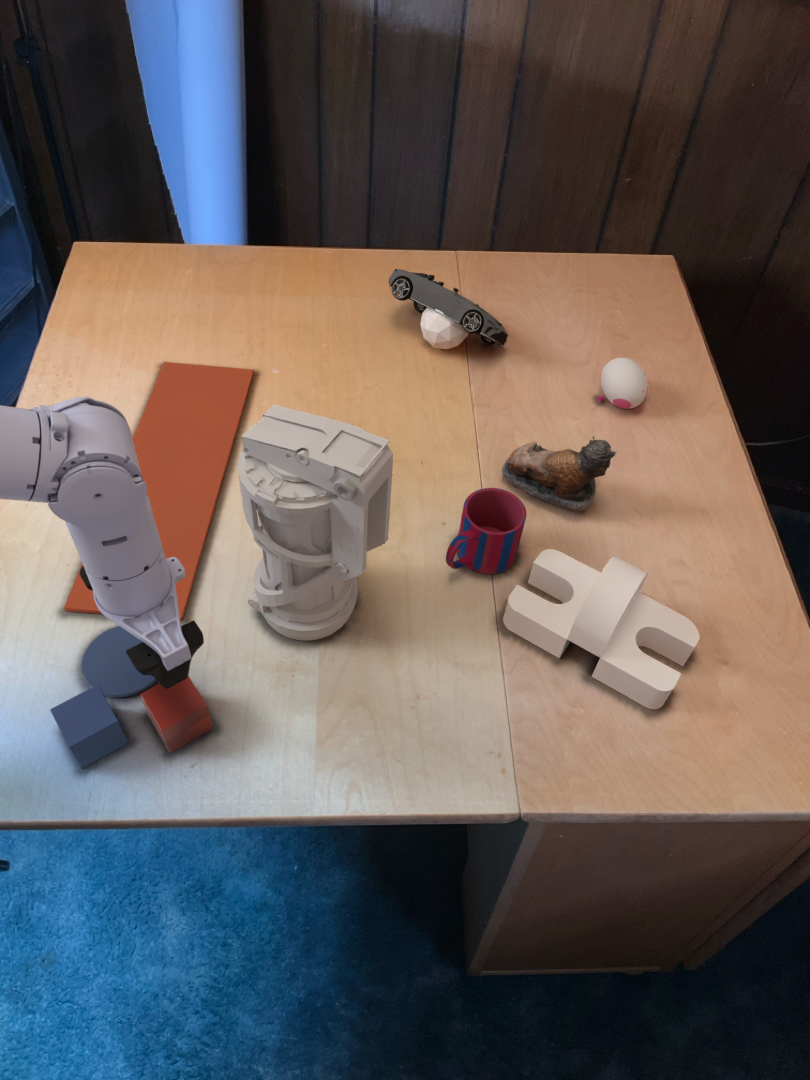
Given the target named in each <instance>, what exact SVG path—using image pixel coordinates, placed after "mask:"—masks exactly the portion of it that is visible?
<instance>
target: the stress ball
mask: <svg viewBox="0 0 810 1080" xmlns="http://www.w3.org/2000/svg"><path fill="white" fill-rule="evenodd" d="M648 383H649V382H648V378H647V376H646V373H645V371H644V369H643V368H642V367H641V366H640V365H639V363H637V362H636V361H635V360H633V359H631V358H628V357H614V358H613V359H611V360H610V361H608V362H607V363H606V364H605V366H604V367H603V369H602V371H601V375H600V386H601V389H602V392H603V394H604V395H602V396H599V397H598V401H599V402H600V403H601V402H602V400H603V399H604V397H605V398H606V399H607V400H608V401H609V402H610V404H612V405H614V406H616V407H617V408H620V409H627V410H628V409H629V410H630V409H634V408H636V407H638V406H639V405H641V404H642V403H643V402H644V400H645V398H647V394H648V388H649V384H648Z"/></svg>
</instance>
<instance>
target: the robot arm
mask: <svg viewBox="0 0 810 1080" xmlns="http://www.w3.org/2000/svg"><path fill="white" fill-rule="evenodd" d="M131 430H132V429H131V427H130V425H129V423H128V420H127V419H126V416H125V415H124V414H123V412H121V411H120V410H119V409H118V408H117V407H116V406H114V405H112V404H110V403H108V402H105V401H102V400H97V399H94V398H92V397H89V396H77V397H72V398H69V399H65V400H62V401H60V402H57V403H56V404H52V405H44V404H39V405H38V407H35V406H33V407H31V408H30V409H29V408H23V407H17V406H8V405H1V404H0V500H9V501H18V502H19V501H20V502H31V503H42V504H43V503H44V504H47V506H48V508H49V510H50V511H51V512H52V513H53V514H54V515H55V516H56V517H57V518H59V519H61V520H62V521H64V522H65V525H66V527H67V529H68V532H69V534H70V537H71V539H72V542H73V544H74V546H75V549H76V551H77V554H78V556H79V558H80V561H81V565H82V564H83V566H82V568H81V569H80V568H79V570H80V576H81V578H82V580H83V582H84V583H85V585H86V587H87V588H88V589H89V590H91V591H93V596H94V600H95V603H96V605H97V607H98V609H99V611H100V612H101V613H102V614H101V615H103V616H104V617H106V619H108V620H110V621H112V622H113V623H114V624H115V625H117V626H120V627H122V628H123V629H125V630H126V631H127V632H129V633H130V634H132V635H133V636H135V637H136V638H138V639H139V640H141V641H142V643H140V644H138V645H136V646H134V647H132V648H130V649H128V650H126V654H127V655H128V657H129V659H130V660H131V662H132V664H133V665H134V667H135V668H136V670H137V671H138V672H140V673H141V674H142V675H151V676H153V677H154V678H155V679H156V680H157V681H156V682H157V683H158V684H160V685H161V686H163V687H164V688H165V689H169V688H170V687H172V686H174V685H176V684H178V683H180V682H181V681H183V680H185V679H187V677H188V676H189V673H190V667H191V662H192V659H193V657H194V655H195V654H196V653H197V651H198V650H199V649H201V647H202V646H203V645H204V643H205V637H204V634H203V631H202V630H201V628H200V627H199V625H198V624H197V622H196V621H195V620H194V619H193V620H191V621H189V622H187V623H185V624H183V625H182V623H181V622H182V621H180V615H179V607H178V600H177V593H176V583H177V582H178V581H179V580H181V579H183V578H184V577H185V575H186V573H185V569H184V567H183V566H182V564H181V563H180V561H179V560H178V559H177V558H176V557H170V558H167V559H166V558H165V554H164V551H163V547H162V543H161V540H160V536H159V532H158V529H157V525H156V522H155V518H154V515H153V511H152V507H151V504H150V500H149V498H148V496H147V484H146V482H143V478H142V474H141V470H140V466H139V462H138V458H137V454H136V450H135V446H134V442H133V433H132V431H131Z"/></svg>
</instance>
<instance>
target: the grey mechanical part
mask: <svg viewBox="0 0 810 1080" xmlns="http://www.w3.org/2000/svg"><path fill="white" fill-rule="evenodd" d="M240 437H241V444H242V445H241V446H242V449H241V452H240V454H239V456H238V460H237V474H238V481H239V488H240V496H241V499H242V500H241V501H242V507H243V513H244V517H245V520H246V522H247V524H248V526H249V528H250V530H251V532H252V534H253V542H255V543H256V544H257V545H258V547H260V548H261V549H262V559H261V560H260V561H259V563H258V564H257V567H256V570H255V573H254V577H253V578H254V579H253V582H254V583H253V584H254V592H253V593H252V595H251V596H250V597H249V598H248V599H247V603H248V605H249V606H250V607H251V608H252V609H253V610H255V611H257V612H259V613H261V614H262V616H263V618H264V620H265V621H266V622H267V623H268V625H269V626H270V627H271V628H272V629H273V630H274V631H275V632H277V633H278V634H280V635H281V636H284V637H286V638H289V639H290V640H291V639H292V640H297V641H307V642H309V641H317V640H320V639H323V638H326V637H330V636H331V635H333V634H334V633H336V632H337V631H339V630H340V629H341V628H342V627H344V625H345V624H347V622H348V621H349V620H350V617H351V615H352V614H353V612H354V609H355V606H356V603H357V598H358V593H359V592H358V591H359V585H358V579H357V577H358V576H360V575H363V574H364V572H365V571H366V570H367V554H368V552H370V551H371V550H372V551H373V550H374V549H376V548H379V547H381V546H383V545H386V543H387V542H388V540H389V529H390V515H391V500H392V499H391V498H392V483H393V463H394V452H393V451H392V449H391V448H390V446H389V445H388V444H389V443H390V442H391V441H390V439H387V438H386V437H385V438H384V437H383V436H379V435H376V434H374V433H372V432H369V431H367V429H365V428H362V427H359V426H356V425H354V424H351V423H348V422H345V421H343V420H341V421H339V420H337V419H334V418H331V417H327V416H323V415H318V414H314V413H310V412H306V411H303V410H297V409H294V408H290V407H285V406H282V405H277V404H272V405H271V406H270V407H269V408H268V410H266V411H265V412H264V413H263V414H262V418H260V419H259V421H258V422H256V423H255V424H254V425H251V426H250V427H249V428H248V429H246V431H245V432H244V433H243V434H242V435H241V436H240Z"/></svg>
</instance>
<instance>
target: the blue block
mask: <svg viewBox="0 0 810 1080" xmlns="http://www.w3.org/2000/svg"><path fill="white" fill-rule="evenodd" d="M49 711H50V713H51V715H52V717H53V720H54V721H55V723H56V725H57V727H58V729H59V731H60V733H61V736H62V737H63V739H64V741H65V743H66V745H67V747H68V749H69V750H70V752H71V754H72V755H73V758H74V759H75V760H76V762H77V764H78V765H79V767H80V768H81V769H84V768H86V767H88V766H90V765H92V764H93V763H94V764H95V762H97V761H99V760H101V759H103V758H104V757H106V756H109V755H110V754H112V753H114V752H116V751H117V750H119V749H121V748H122V747H124V746H126V745H128V743H129V741H128V739H127V736H126V734H125V732H124V730H123V727H122V725H121V724H120V722H119V720H118V718H117V716H116V714H115V712H114V710H113V709H112V707H111V705H110V703H109V701H108V700H107V697H106V696H104V694H103V692H102V690H101V689H100V687H99V685H96V686H94V687H92V688H91V687H89V688H88V689H86V690H84V691H82V692H81V693H79V694H77V695H75V696H73V697H71V698H69V699H67V700H65V701H63V702H62V703H61V702H60V703H59V704H57V705H55V706H53V707H51V708H50V709H49Z"/></svg>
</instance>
